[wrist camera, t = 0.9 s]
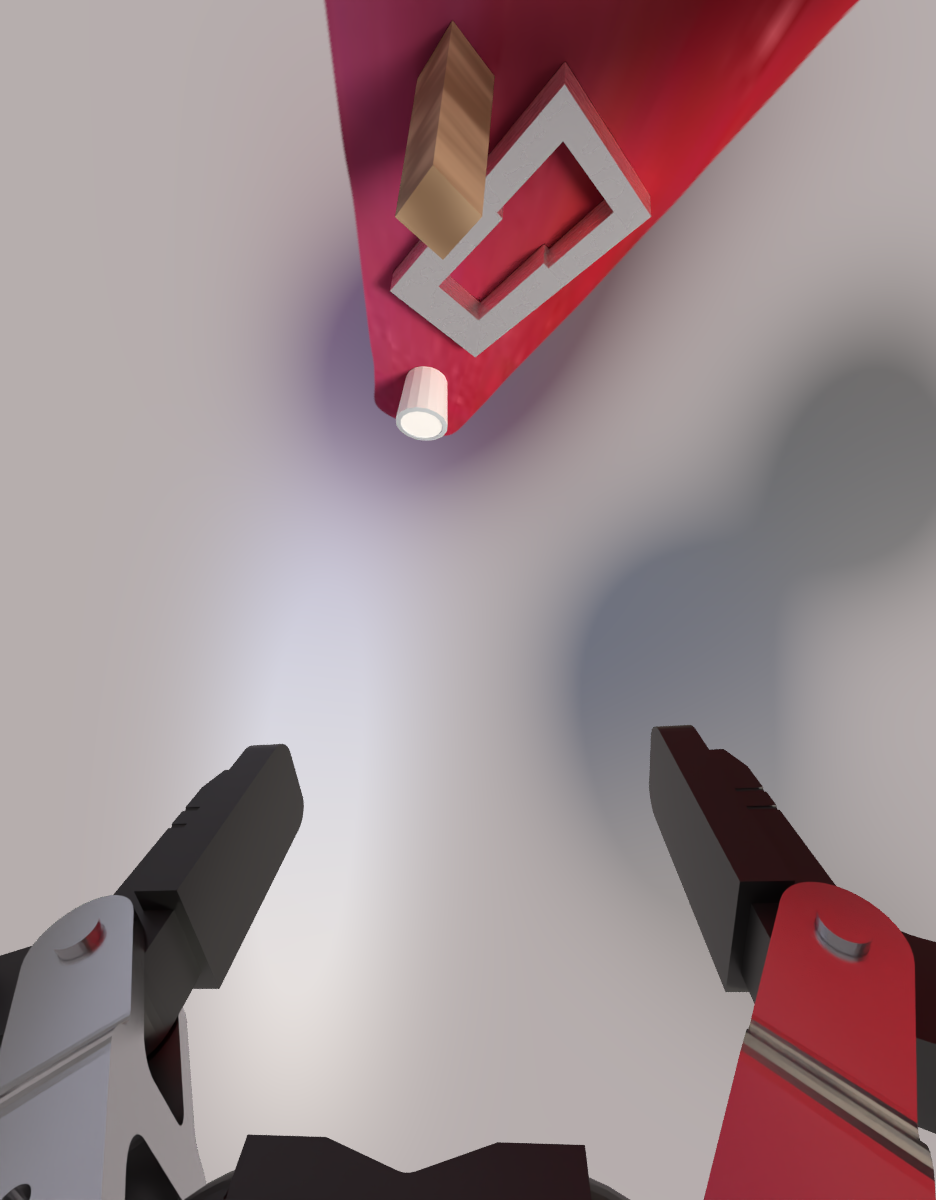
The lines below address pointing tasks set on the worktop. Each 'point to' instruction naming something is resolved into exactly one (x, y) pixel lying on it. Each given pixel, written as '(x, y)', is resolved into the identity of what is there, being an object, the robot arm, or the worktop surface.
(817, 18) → the worktop surface
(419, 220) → the walnut post
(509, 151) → the keyhole plate
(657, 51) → the worktop surface
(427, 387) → the white tapered cup
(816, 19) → the worktop surface
